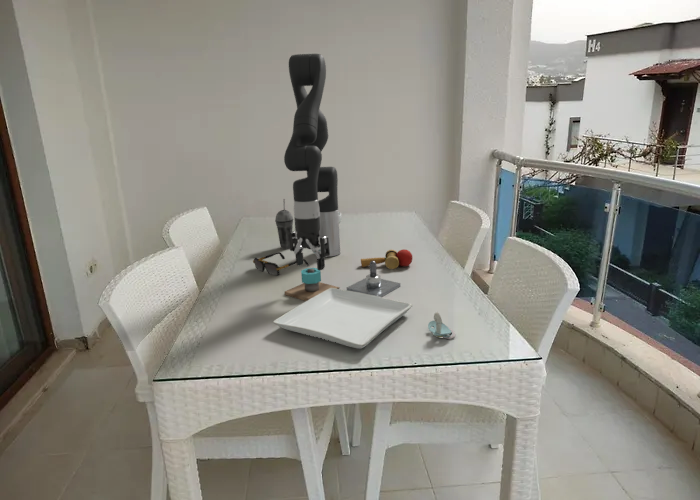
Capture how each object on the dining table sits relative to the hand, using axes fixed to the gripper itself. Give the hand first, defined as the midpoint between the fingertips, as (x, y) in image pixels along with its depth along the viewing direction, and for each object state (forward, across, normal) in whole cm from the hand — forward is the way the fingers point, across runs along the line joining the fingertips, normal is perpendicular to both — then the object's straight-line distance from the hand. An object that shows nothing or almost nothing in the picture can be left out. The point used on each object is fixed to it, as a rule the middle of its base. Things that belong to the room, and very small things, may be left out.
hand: (310, 267), depth 148 cm
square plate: (+9, +22, -11) cm, 26 cm away
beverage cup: (+8, -42, +30) cm, 53 cm away
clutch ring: (+4, 0, 0) cm, 4 cm away
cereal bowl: (+8, -49, +61) cm, 79 cm away
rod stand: (+8, 0, 0) cm, 8 cm away
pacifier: (+9, +46, -2) cm, 47 cm away
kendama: (+8, +5, +33) cm, 34 cm away
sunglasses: (+9, -26, +12) cm, 30 cm away
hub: (+8, +14, +13) cm, 21 cm away
